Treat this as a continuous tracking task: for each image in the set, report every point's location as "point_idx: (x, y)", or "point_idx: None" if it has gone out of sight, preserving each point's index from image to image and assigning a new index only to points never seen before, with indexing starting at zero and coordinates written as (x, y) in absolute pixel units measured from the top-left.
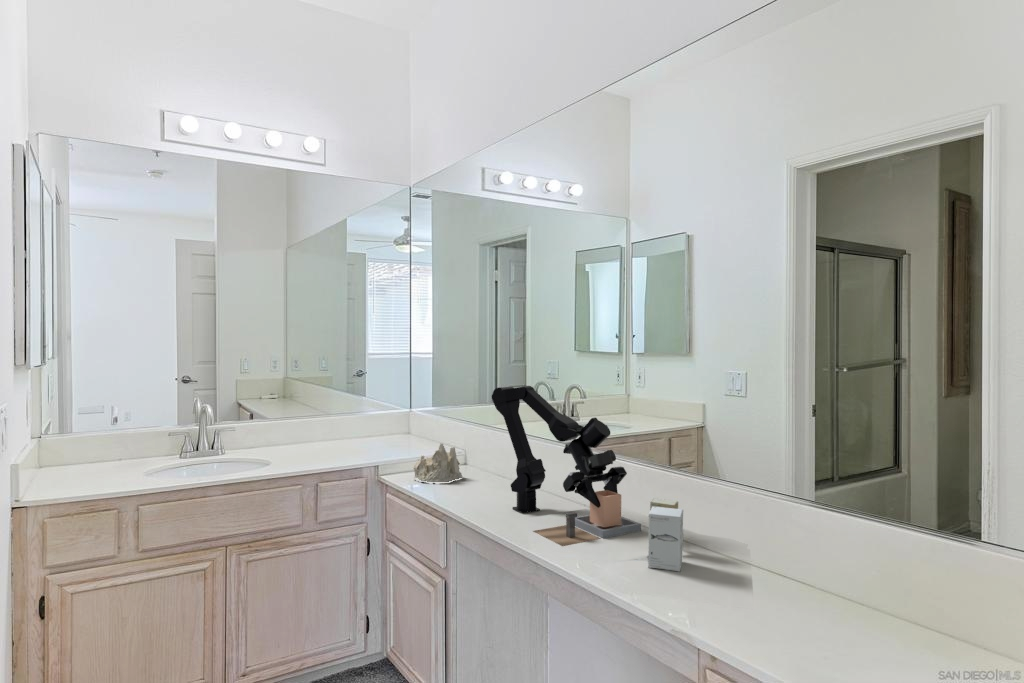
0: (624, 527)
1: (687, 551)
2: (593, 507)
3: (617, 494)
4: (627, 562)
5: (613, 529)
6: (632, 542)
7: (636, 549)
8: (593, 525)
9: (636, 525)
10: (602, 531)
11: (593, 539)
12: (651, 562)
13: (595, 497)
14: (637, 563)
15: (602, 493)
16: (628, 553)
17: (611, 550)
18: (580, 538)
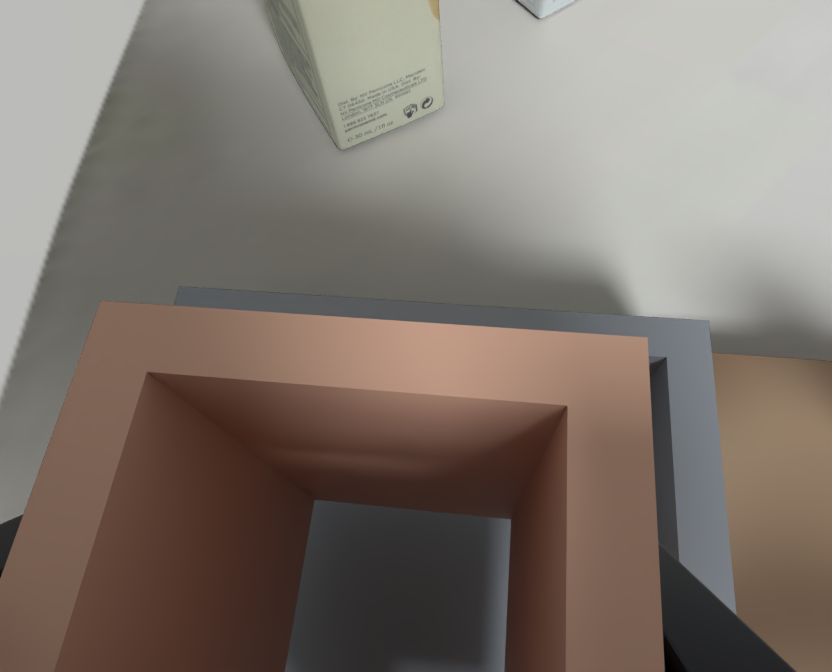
0: (403, 302)
1: (266, 6)
2: None
3: (152, 357)
4: (734, 38)
5: (553, 313)
6: (410, 273)
7: (505, 159)
8: (680, 544)
9: (243, 295)
10: (706, 326)
11: (796, 368)
12: None
13: (724, 628)
14: (685, 6)
15: None
16: (615, 133)
17: (691, 229)
18: None
